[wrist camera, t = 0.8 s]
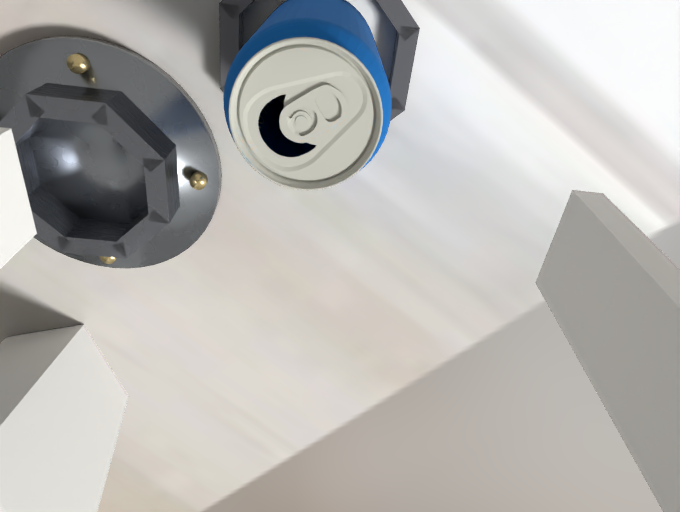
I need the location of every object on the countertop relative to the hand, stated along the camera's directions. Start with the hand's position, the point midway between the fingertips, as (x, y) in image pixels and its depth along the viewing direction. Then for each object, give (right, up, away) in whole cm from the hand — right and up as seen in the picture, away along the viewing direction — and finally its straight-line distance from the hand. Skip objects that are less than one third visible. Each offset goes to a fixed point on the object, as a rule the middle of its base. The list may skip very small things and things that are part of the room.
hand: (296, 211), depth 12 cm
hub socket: (-14, +5, +20) cm, 25 cm away
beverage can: (0, +10, +16) cm, 19 cm away
